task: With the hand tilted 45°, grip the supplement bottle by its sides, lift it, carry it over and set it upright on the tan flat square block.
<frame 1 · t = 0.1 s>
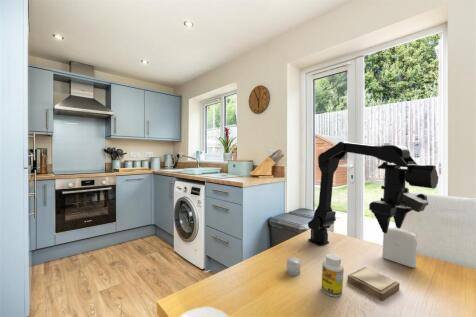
hand: (391, 230, 73), 15 cm above the table, tool pointing down, fingers open, 9 cm apart
supplement bottle: (331, 292, 64), on the table
white rounded knob: (293, 272, 73), on the table
tan flat square block: (372, 285, 67), on the table
photo printer: (398, 262, 82), on the table
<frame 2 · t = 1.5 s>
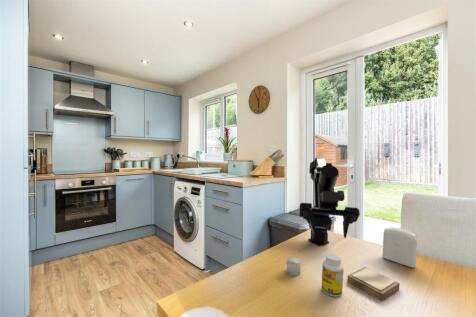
hand: (329, 235, 70), 13 cm above the table, tool tilted 45°, fingers open, 9 cm apart
nothing on the table moved.
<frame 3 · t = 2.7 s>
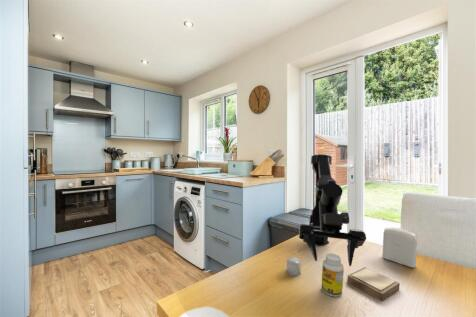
hand: (332, 263, 64), 8 cm above the table, tool tilted 45°, fingers open, 9 cm apart
nothing on the table moved.
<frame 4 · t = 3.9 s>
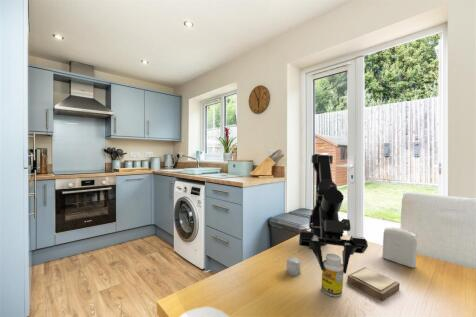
hand: (333, 271, 62), 7 cm above the table, tool tilted 45°, fingers closed on supplement bottle, 6 cm apart
supplement bottle: (331, 291, 64), on the table, touching gripper
everything else where it was.
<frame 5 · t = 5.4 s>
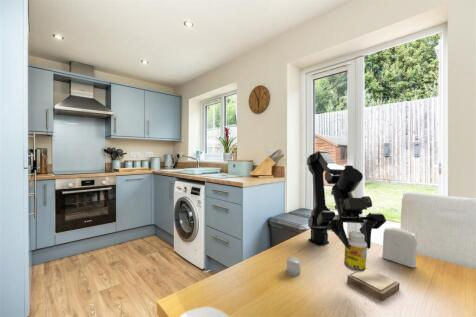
hand: (358, 247, 63), 13 cm above the table, tool tilted 45°, fingers closed on supplement bottle, 6 cm apart
supplement bottle: (354, 268, 65), point 6 cm above the table, touching gripper
everything else where it was.
when the fingers open (9 cm above the table, at t = 6.9 s): supplement bottle stays where it is, resting on tan flat square block.
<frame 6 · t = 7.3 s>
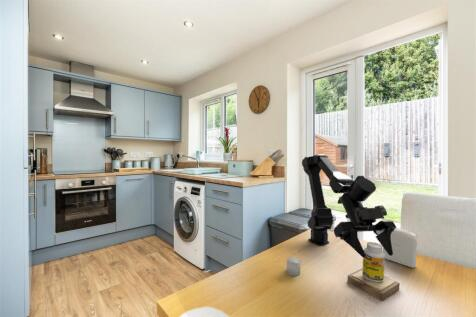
hand: (378, 256, 65), 10 cm above the table, tool tilted 45°, fingers open, 9 cm apart
supplement bottle: (372, 278, 67), point 2 cm above the table, touching tan flat square block
everything else where it was.
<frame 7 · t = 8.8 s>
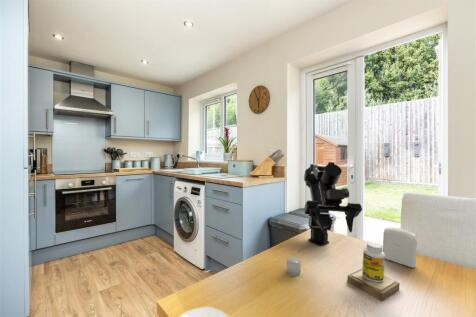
hand: (336, 231, 75), 13 cm above the table, tool tilted 45°, fingers open, 9 cm apart
nothing on the table moved.
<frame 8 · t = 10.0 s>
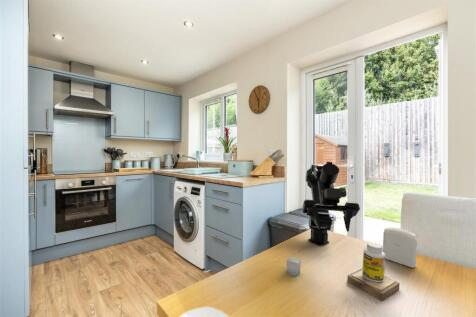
hand: (333, 230, 75), 14 cm above the table, tool tilted 45°, fingers open, 9 cm apart
nothing on the table moved.
at the end: supplement bottle inside the target area on the tan flat square block (0.1 cm from its centre), point 2.1 cm above the tan flat square block's base; supplement bottle tilted 0°; the gripper is holding nothing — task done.
